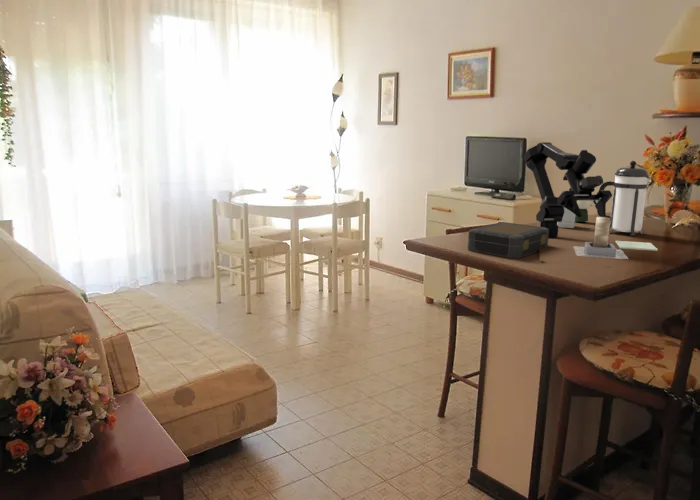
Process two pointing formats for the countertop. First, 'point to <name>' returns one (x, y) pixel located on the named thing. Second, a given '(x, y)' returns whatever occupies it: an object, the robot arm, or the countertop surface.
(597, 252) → the grey square socket base
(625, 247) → the green pad
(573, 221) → the supplement box
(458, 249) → the countertop surface
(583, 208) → the character mug
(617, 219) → the coffee press
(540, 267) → the countertop surface
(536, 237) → the cash box
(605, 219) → the ash peg
